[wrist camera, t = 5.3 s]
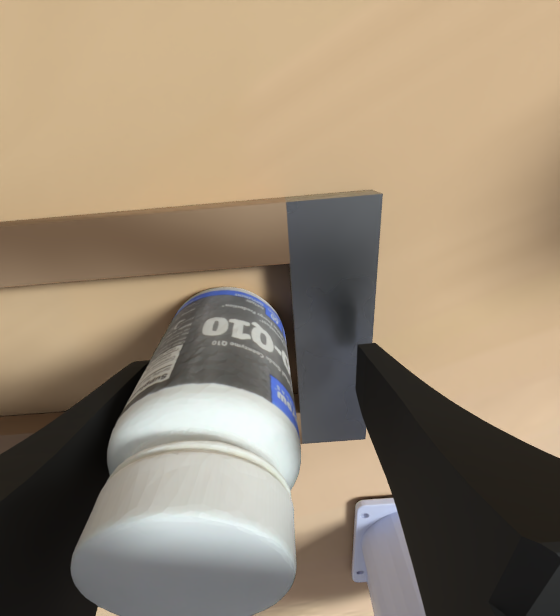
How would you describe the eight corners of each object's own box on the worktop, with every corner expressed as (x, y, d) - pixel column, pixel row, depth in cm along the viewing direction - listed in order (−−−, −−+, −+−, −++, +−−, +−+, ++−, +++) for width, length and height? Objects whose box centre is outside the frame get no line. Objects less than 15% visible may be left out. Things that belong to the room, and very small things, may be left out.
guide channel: (300, 423, 15) (302, 443, 14) (12, 445, 16) (-7, 466, 15) (284, 197, 10) (286, 201, 9) (-137, 233, 11) (-182, 242, 10)
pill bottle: (307, 327, 13) (375, 562, 5) (240, 394, 14) (220, 654, 7) (214, 259, 11) (129, 460, 4) (150, 342, 13) (-4, 607, 5)
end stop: (358, 419, 15) (365, 439, 14) (300, 423, 15) (302, 443, 14) (371, 189, 10) (382, 193, 9) (284, 197, 10) (286, 201, 9)
